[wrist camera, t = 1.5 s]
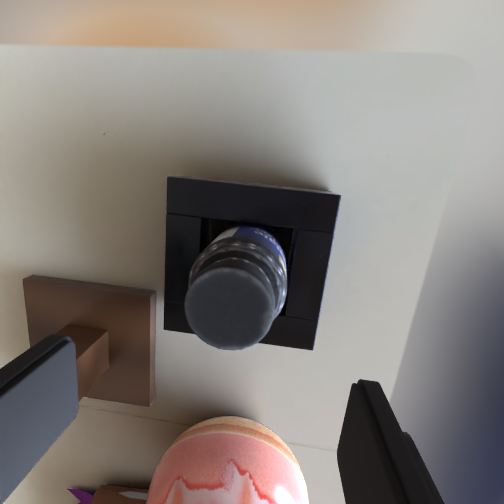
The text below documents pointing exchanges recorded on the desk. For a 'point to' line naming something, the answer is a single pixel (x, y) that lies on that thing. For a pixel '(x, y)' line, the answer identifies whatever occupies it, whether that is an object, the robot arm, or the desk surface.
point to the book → (112, 495)
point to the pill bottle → (237, 286)
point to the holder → (258, 212)
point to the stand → (99, 334)
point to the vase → (228, 466)
